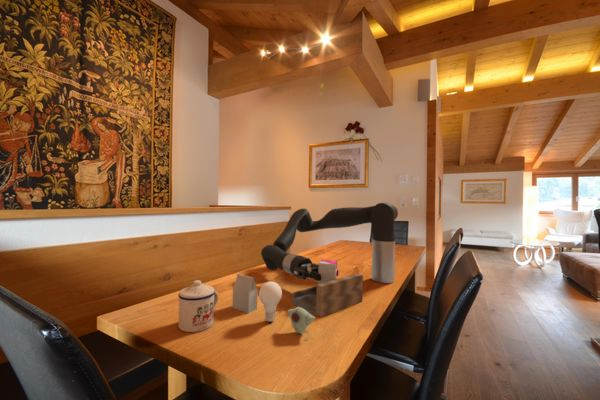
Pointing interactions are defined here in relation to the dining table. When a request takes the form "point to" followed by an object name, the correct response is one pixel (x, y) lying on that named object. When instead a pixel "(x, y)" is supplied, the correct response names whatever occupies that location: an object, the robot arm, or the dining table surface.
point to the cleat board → (330, 295)
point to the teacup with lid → (196, 307)
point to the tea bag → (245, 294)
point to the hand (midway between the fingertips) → (329, 275)
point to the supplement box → (327, 270)
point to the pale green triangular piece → (300, 319)
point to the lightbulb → (270, 299)
